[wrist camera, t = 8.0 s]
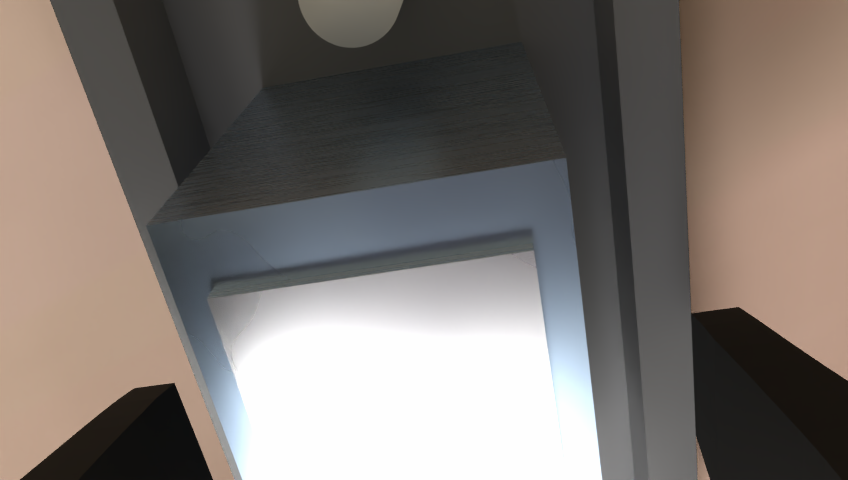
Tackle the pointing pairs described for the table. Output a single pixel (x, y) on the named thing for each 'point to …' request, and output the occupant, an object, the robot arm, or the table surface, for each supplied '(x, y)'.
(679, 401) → the tray
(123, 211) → the table surface
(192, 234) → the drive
